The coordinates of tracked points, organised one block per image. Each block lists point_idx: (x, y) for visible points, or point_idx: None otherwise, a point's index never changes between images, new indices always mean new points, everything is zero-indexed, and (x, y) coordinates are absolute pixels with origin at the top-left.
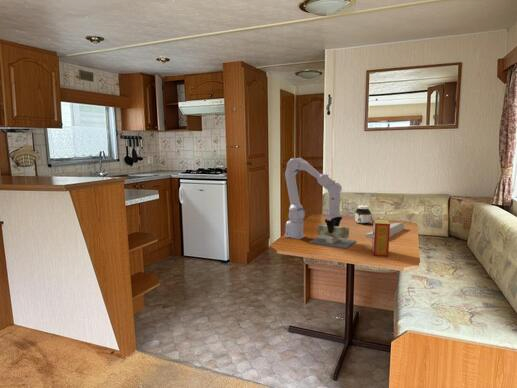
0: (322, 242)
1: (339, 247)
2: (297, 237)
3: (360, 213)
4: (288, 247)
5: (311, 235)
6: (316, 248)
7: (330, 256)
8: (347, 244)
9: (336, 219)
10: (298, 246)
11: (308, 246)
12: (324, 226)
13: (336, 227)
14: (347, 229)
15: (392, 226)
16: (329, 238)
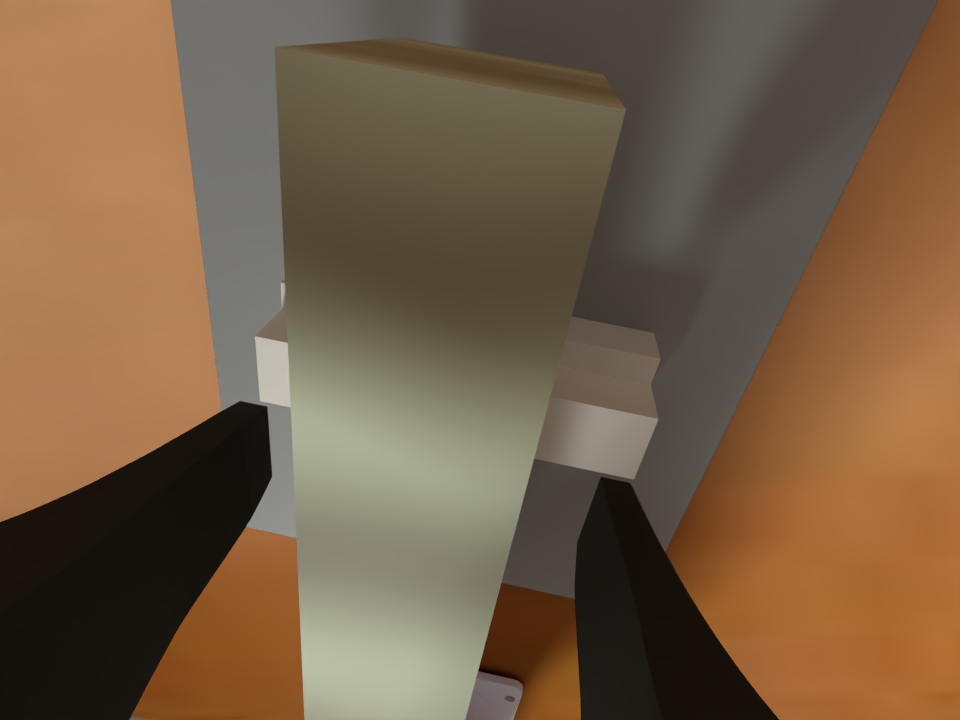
0: (623, 479)
1: (838, 174)
2: (494, 707)
3: None
4: None
5: (278, 598)
6: (933, 510)
7: None
8: (615, 25)
9: (45, 717)
10: (848, 675)
11: (828, 596)
12: (466, 714)
13: (465, 506)
14: (521, 88)
15: None
16: (643, 443)
